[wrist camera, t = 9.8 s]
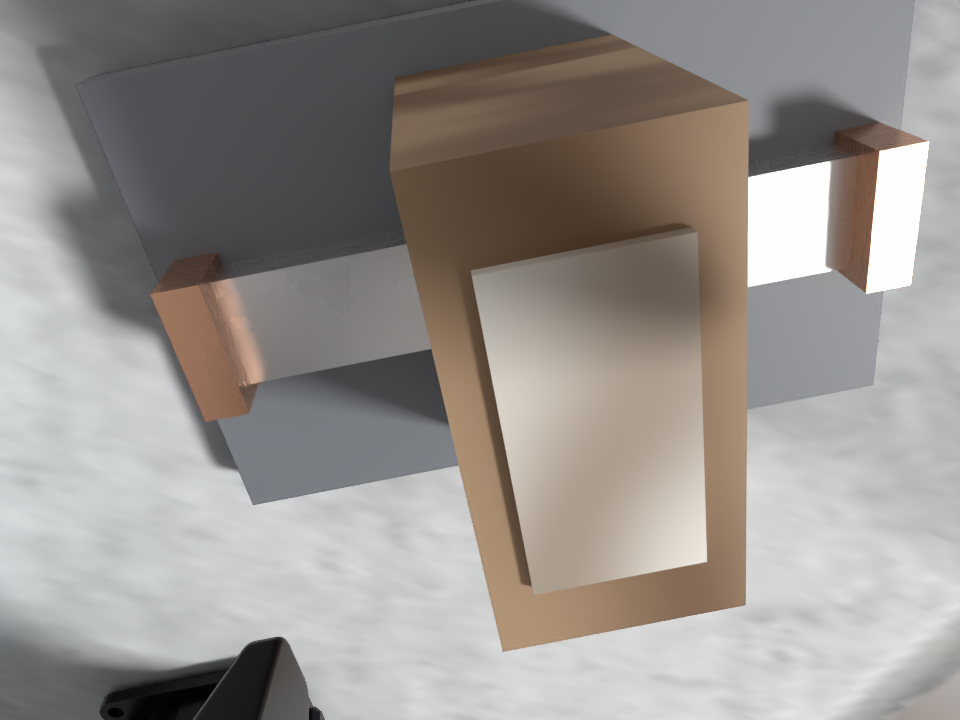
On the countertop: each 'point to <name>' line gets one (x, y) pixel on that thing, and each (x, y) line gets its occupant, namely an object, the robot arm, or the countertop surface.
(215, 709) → the robot arm
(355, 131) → the mounting plate
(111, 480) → the countertop surface
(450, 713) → the countertop surface
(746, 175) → the rail module
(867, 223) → the copper ended bar
